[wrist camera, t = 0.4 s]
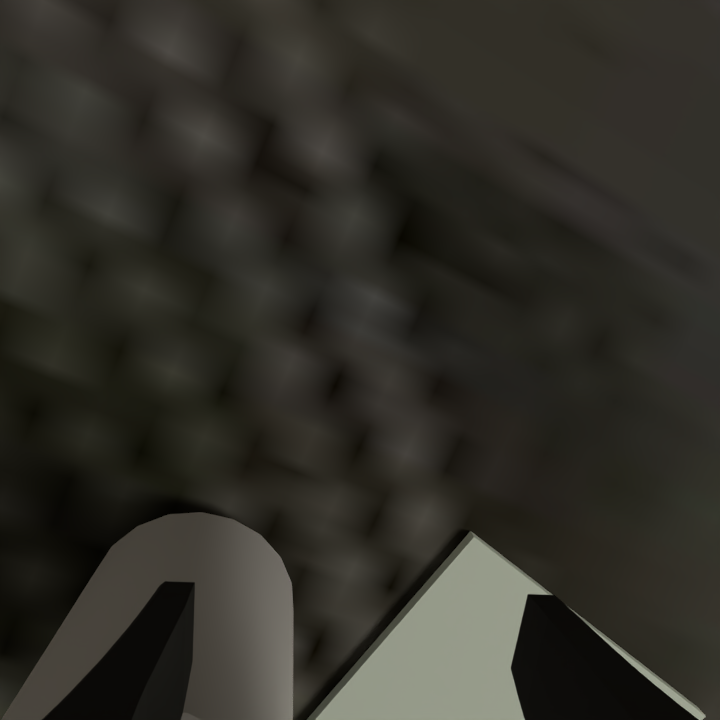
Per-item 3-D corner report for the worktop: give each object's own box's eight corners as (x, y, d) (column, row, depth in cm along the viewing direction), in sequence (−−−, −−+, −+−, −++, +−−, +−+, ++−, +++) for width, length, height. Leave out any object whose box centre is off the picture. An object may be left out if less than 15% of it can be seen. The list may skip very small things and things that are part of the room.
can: (185, 462, 22) (61, 698, 10) (333, 581, 24) (371, 906, 12) (53, 605, 22) (-212, 989, 11) (206, 713, 24) (121, 1155, 12)
